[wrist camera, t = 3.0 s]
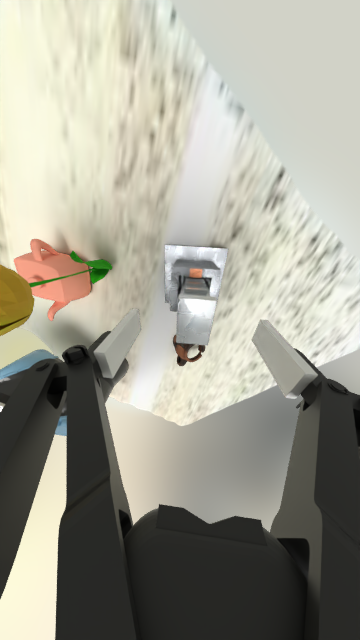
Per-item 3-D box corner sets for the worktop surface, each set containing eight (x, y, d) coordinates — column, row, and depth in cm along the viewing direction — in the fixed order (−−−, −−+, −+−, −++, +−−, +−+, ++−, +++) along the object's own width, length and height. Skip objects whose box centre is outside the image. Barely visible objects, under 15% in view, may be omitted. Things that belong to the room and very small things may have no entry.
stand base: (166, 300, 38) (156, 324, 27) (166, 244, 31) (152, 246, 20) (215, 304, 38) (224, 329, 27) (226, 248, 30) (245, 252, 20)
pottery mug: (175, 326, 43) (187, 338, 36) (197, 328, 48) (212, 340, 41) (165, 357, 46) (174, 374, 40) (187, 356, 51) (199, 371, 45)
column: (183, 290, 34) (174, 342, 17) (185, 265, 31) (176, 297, 14) (200, 291, 34) (208, 345, 17) (203, 266, 31) (218, 301, 14)
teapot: (90, 245, 32) (51, 247, 23) (96, 309, 42) (70, 328, 33) (41, 232, 32) (-17, 229, 23) (59, 300, 41) (22, 317, 32)
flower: (123, 283, 37) (-39, 386, 11) (93, 275, 36) (-151, 362, 10) (124, 249, 32) (-141, 287, 7) (90, 239, 32) (-346, 236, 6)
